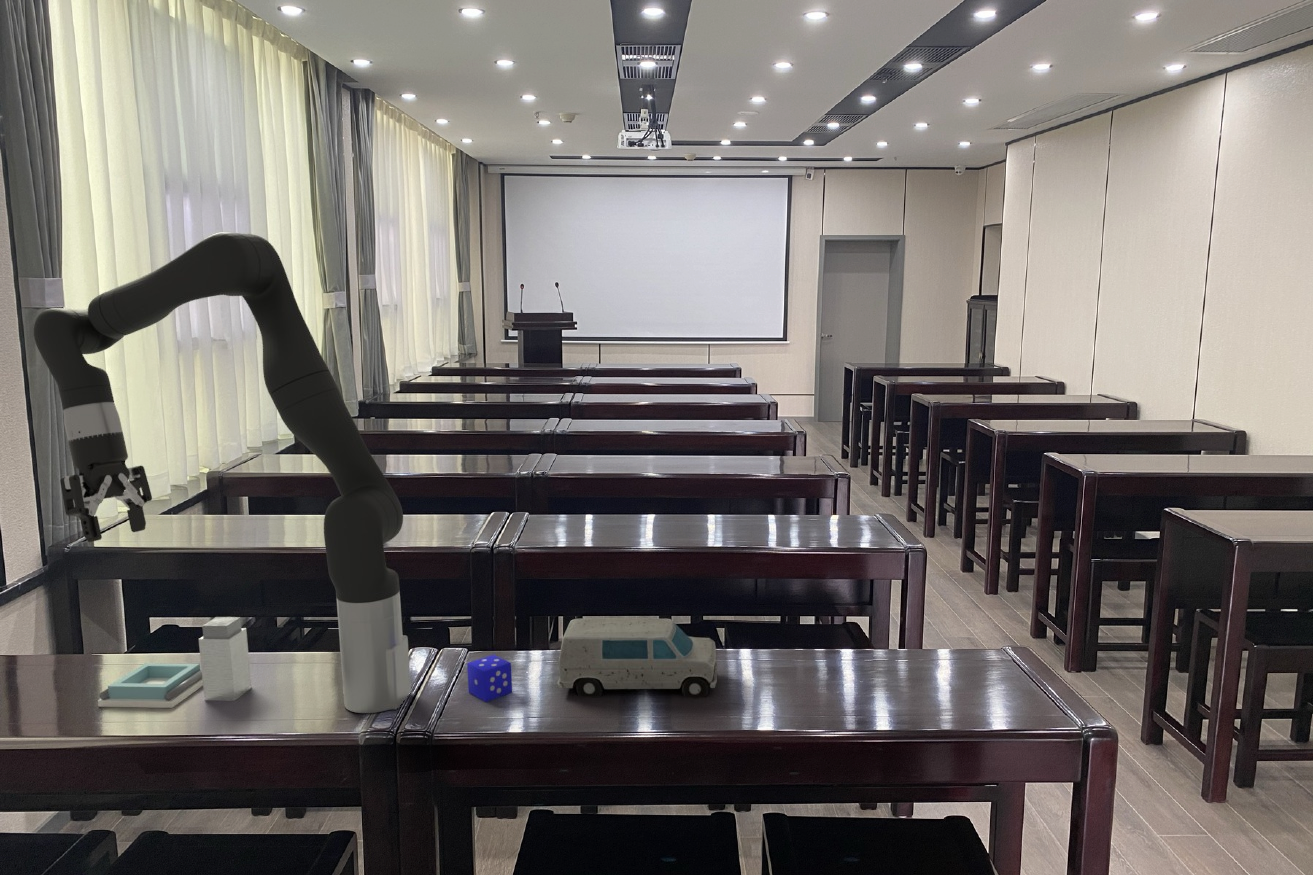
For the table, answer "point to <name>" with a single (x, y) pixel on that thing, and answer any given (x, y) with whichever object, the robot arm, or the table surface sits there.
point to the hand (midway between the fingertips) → (117, 535)
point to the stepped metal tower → (224, 659)
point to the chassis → (153, 686)
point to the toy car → (634, 657)
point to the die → (489, 678)
